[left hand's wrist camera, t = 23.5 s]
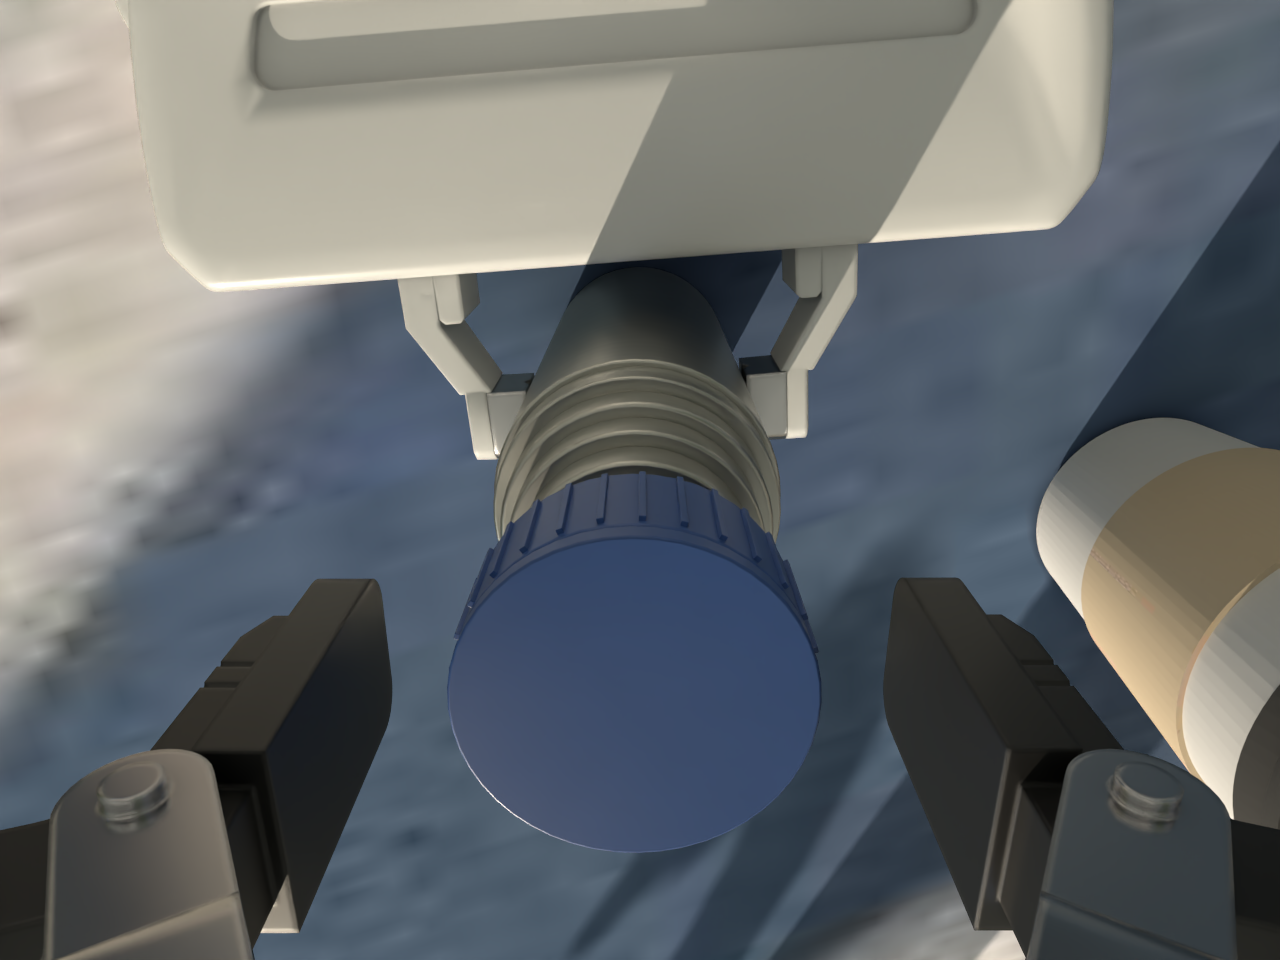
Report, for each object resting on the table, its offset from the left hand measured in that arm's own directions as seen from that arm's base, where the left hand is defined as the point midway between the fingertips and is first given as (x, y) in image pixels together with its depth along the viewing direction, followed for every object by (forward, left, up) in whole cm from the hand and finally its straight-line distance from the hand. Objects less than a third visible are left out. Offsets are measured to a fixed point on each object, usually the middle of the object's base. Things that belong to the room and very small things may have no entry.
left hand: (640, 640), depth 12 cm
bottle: (0, 0, -17) cm, 17 cm away
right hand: (+1, -1, -11) cm, 11 cm away
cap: (0, 0, +1) cm, 1 cm away
